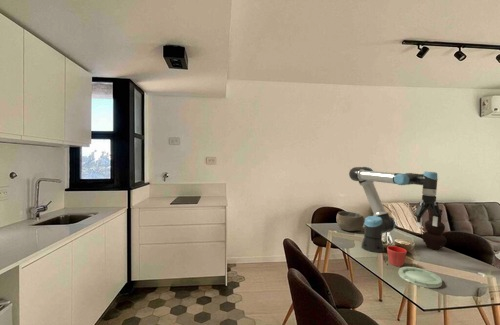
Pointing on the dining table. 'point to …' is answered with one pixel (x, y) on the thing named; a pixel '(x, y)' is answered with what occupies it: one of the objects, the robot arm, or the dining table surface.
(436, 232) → the vase
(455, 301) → the dining table surface
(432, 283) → the round tray
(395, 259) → the flower pot
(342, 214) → the bowl
